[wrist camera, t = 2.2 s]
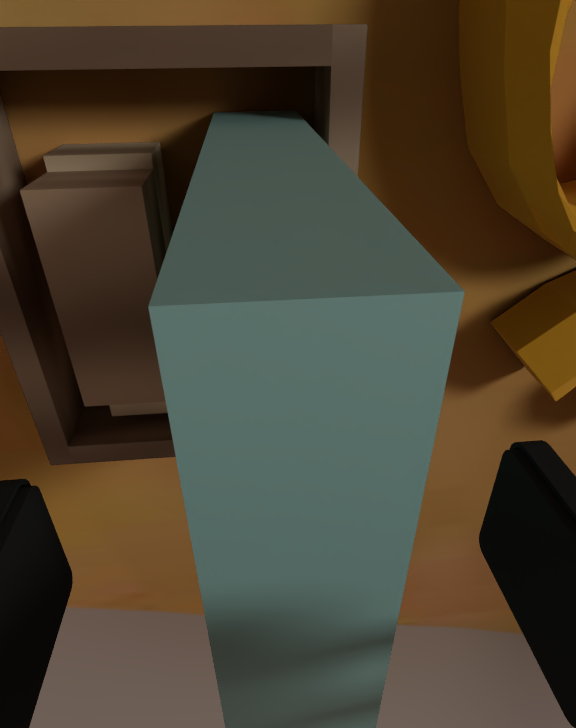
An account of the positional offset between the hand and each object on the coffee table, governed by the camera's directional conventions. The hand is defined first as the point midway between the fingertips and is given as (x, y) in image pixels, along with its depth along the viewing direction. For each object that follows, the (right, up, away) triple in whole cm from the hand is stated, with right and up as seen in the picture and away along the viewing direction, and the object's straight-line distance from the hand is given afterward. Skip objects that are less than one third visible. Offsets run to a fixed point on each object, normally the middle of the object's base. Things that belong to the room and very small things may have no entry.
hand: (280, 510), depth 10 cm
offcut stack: (-6, +7, +11) cm, 15 cm away
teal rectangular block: (-1, +8, +11) cm, 13 cm away
